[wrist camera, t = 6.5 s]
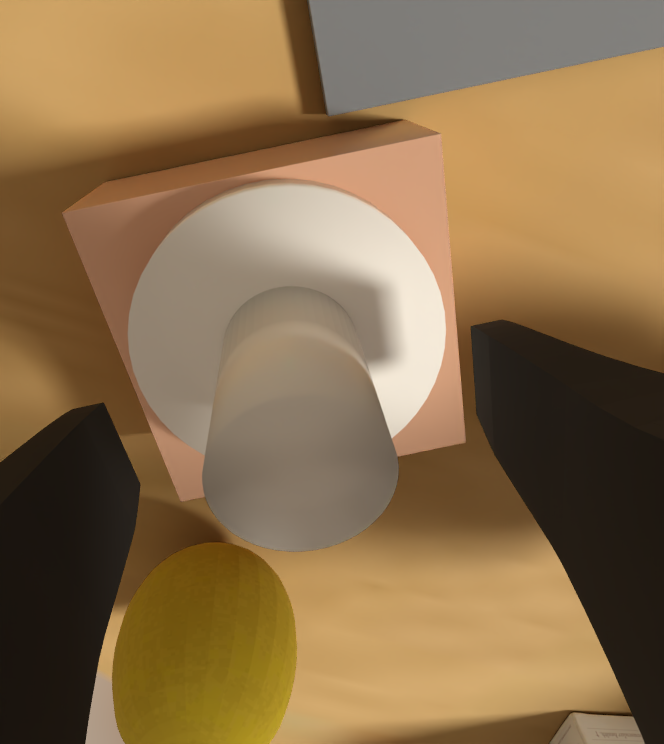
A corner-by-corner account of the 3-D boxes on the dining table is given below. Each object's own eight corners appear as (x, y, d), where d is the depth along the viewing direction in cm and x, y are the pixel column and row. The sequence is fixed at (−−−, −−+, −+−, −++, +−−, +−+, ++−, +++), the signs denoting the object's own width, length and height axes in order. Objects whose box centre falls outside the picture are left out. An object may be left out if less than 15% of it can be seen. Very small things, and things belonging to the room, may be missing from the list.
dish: (405, 119, 15) (440, 133, 12) (433, 380, 19) (465, 442, 16) (104, 181, 15) (61, 213, 12) (195, 430, 19) (180, 502, 16)
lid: (432, 159, 12) (543, 223, 7) (436, 431, 15) (512, 599, 10) (98, 199, 12) (-22, 294, 7) (176, 468, 15) (133, 658, 10)
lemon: (110, 554, 21) (30, 801, 14) (216, 468, 19) (188, 694, 12) (219, 622, 23) (199, 863, 16) (322, 550, 22) (347, 779, 15)
